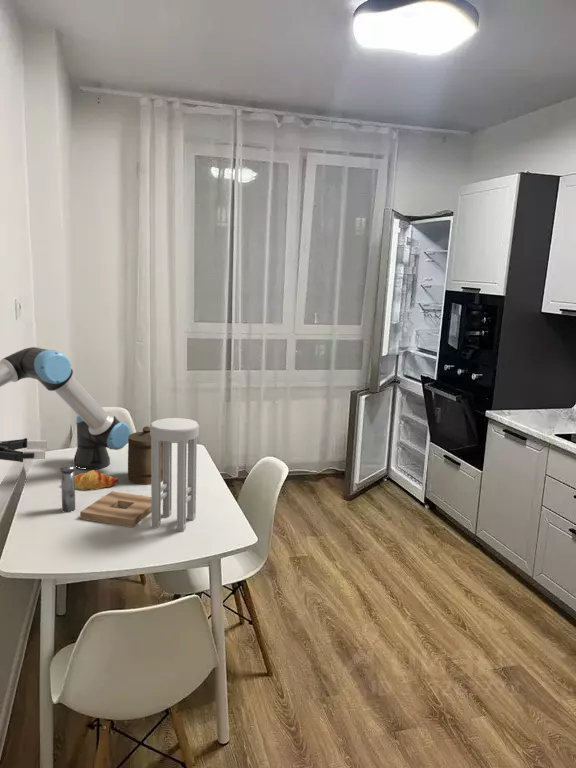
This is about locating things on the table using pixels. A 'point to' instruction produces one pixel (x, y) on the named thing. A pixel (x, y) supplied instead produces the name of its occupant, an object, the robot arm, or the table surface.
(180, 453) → the stool
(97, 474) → the croissant
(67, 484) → the link pin
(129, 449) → the wooden container
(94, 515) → the keeper block
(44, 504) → the table surface
